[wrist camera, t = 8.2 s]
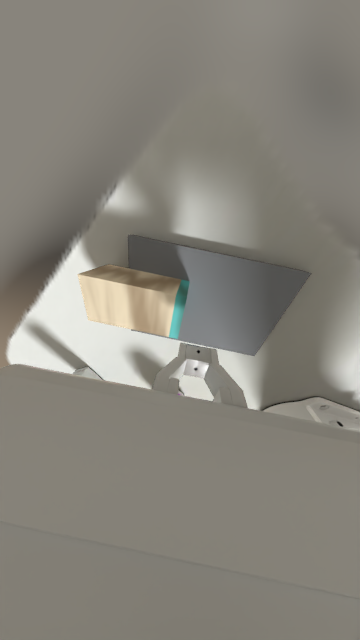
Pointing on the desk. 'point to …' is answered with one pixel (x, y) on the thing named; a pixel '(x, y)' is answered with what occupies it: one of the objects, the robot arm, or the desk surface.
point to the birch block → (134, 299)
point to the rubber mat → (221, 293)
